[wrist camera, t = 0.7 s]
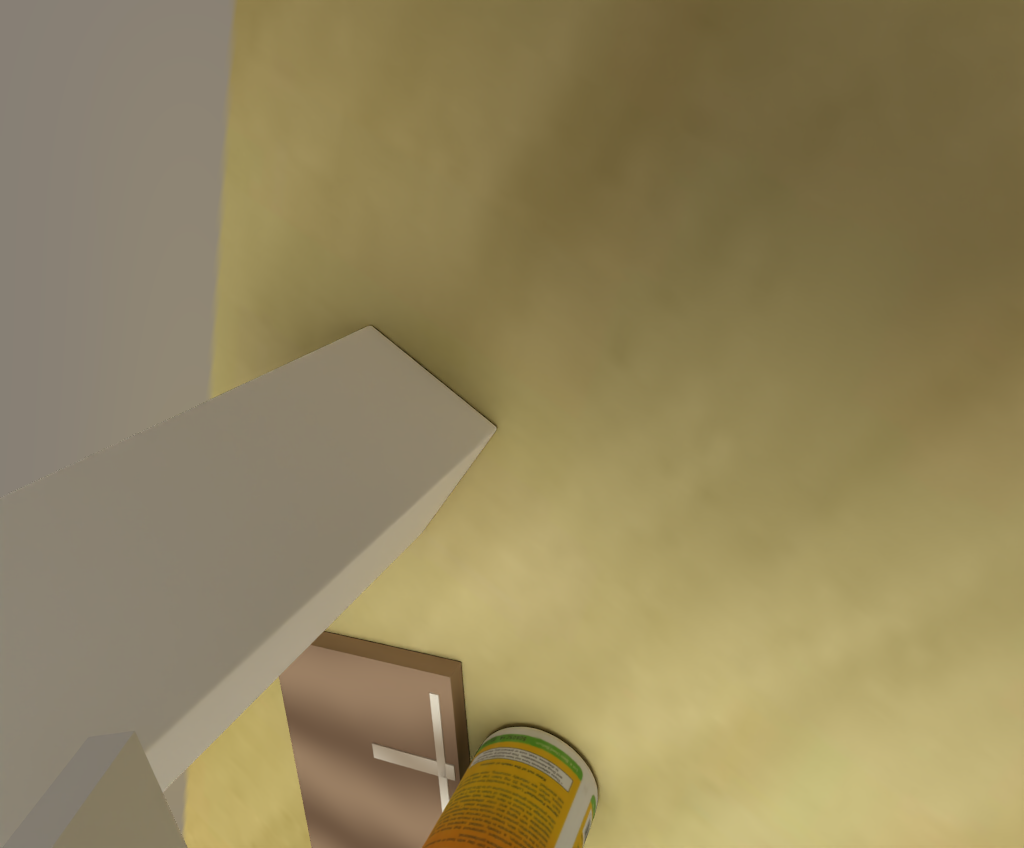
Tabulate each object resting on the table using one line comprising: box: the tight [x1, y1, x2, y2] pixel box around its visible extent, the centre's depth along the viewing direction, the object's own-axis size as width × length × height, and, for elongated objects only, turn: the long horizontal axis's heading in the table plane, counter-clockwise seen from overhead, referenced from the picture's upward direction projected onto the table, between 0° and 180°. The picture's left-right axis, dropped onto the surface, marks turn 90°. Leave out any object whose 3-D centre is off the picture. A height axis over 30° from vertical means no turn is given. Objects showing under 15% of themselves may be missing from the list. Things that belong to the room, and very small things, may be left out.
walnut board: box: [279, 632, 470, 848], centre depth 38 cm, size 22×9×1 cm, turn 4°
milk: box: [0, 326, 496, 848], centre depth 20 cm, size 6×6×22 cm
